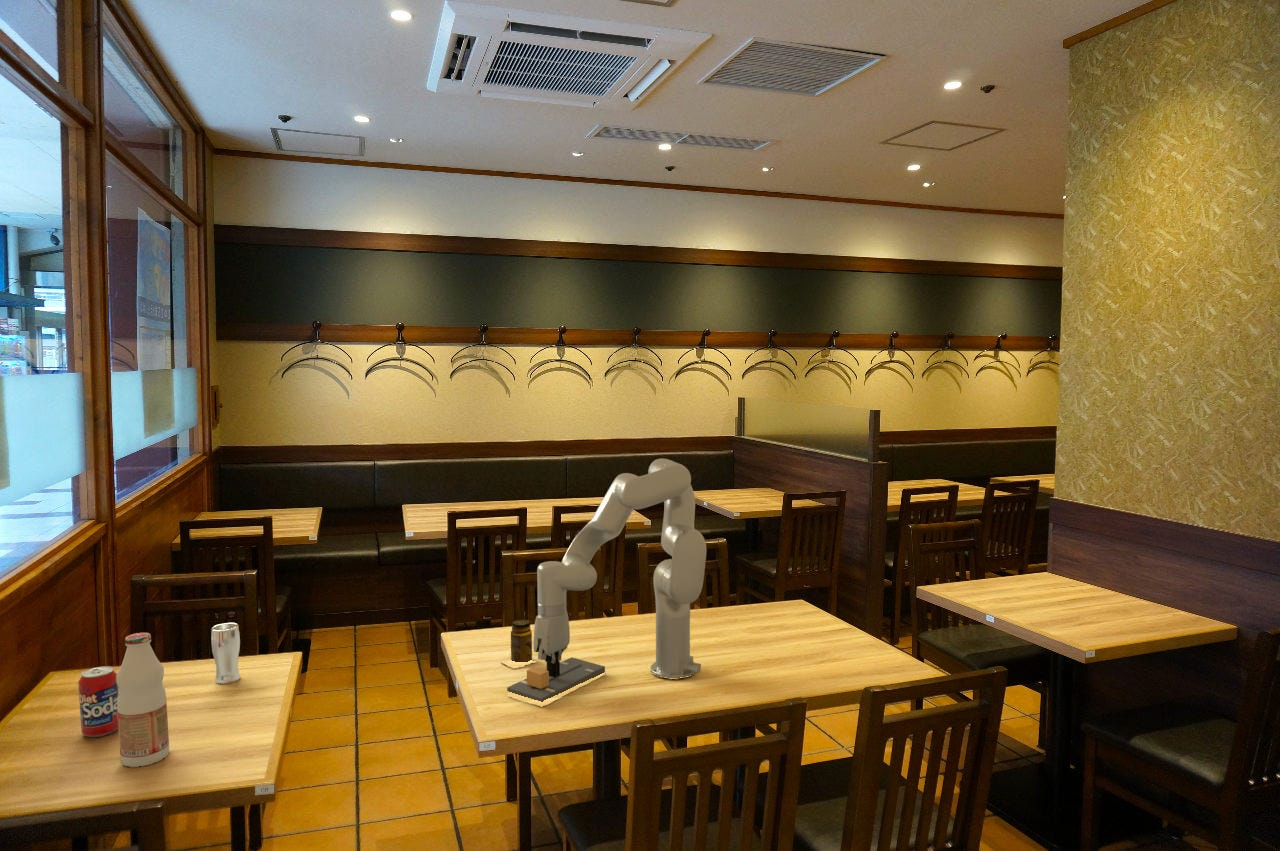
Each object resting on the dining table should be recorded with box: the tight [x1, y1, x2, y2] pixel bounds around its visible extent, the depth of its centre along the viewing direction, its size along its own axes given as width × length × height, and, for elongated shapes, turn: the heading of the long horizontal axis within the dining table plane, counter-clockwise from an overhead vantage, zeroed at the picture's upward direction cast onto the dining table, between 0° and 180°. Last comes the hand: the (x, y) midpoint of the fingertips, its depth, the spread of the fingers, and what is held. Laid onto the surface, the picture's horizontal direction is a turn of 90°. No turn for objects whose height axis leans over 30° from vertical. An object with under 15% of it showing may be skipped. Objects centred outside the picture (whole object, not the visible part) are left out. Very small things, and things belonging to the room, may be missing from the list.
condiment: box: [510, 619, 533, 662], centre depth 243 cm, size 7×8×12 cm
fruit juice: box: [116, 632, 170, 768], centre depth 186 cm, size 9×9×28 cm
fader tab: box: [526, 666, 549, 689], centre depth 220 cm, size 3×5×4 cm, turn 55°
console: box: [506, 656, 606, 702], centre depth 227 cm, size 26×12×3 cm, turn 145°
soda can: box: [77, 665, 119, 738], centre depth 200 cm, size 8×8×15 cm
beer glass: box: [211, 622, 241, 685], centre depth 231 cm, size 7×7×15 cm
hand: (553, 675), depth 225 cm, fingers closed
